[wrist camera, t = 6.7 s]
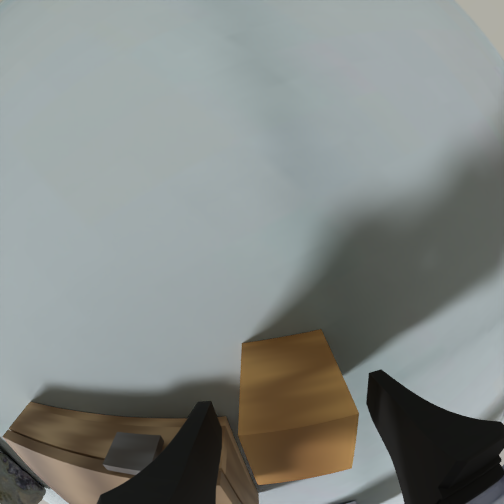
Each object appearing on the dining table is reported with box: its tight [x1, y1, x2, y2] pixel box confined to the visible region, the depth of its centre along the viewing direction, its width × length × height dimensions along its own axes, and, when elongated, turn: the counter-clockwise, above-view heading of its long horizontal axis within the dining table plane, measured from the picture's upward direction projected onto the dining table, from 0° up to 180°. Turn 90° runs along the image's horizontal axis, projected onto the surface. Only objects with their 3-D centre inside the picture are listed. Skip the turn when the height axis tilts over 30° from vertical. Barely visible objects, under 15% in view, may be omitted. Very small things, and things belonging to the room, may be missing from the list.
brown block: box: [238, 329, 359, 485], centre depth 11 cm, size 4×4×6 cm
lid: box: [3, 430, 241, 504], centre depth 12 cm, size 18×13×5 cm
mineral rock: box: [0, 451, 46, 504], centre depth 16 cm, size 13×11×10 cm
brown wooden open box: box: [9, 402, 259, 504], centre depth 14 cm, size 18×12×4 cm, turn 100°
